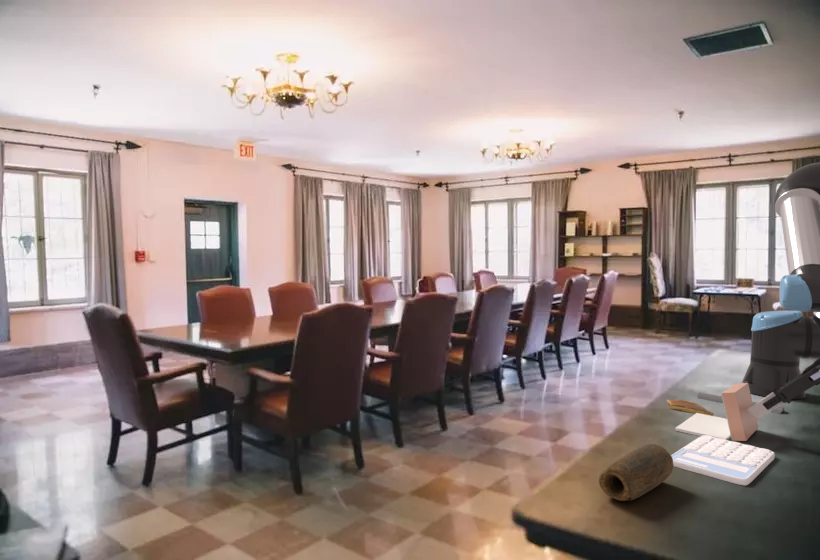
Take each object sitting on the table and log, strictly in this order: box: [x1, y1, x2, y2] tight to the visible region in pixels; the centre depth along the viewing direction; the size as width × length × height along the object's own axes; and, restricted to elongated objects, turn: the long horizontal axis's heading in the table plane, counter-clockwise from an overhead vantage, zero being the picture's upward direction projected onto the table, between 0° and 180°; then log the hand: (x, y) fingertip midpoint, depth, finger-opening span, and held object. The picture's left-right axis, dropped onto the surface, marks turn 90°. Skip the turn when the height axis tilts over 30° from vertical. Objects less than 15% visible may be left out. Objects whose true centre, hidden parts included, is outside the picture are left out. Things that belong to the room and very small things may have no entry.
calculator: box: [670, 435, 776, 487], centre depth 104 cm, size 13×20×2 cm, turn 134°
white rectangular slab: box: [674, 413, 731, 441], centre depth 123 cm, size 16×10×1 cm, turn 137°
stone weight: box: [598, 443, 674, 502], centre depth 90 cm, size 15×7×7 cm, turn 135°
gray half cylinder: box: [696, 392, 785, 415], centre depth 143 cm, size 4×20×2 cm, turn 45°
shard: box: [666, 399, 715, 416], centre depth 136 cm, size 11×8×2 cm
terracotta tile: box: [720, 382, 759, 442], centre depth 119 cm, size 12×3×10 cm, turn 137°
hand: (752, 414), depth 117 cm, fingers closed
